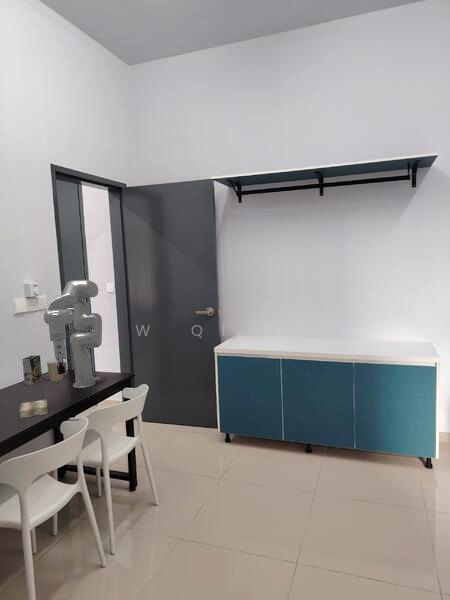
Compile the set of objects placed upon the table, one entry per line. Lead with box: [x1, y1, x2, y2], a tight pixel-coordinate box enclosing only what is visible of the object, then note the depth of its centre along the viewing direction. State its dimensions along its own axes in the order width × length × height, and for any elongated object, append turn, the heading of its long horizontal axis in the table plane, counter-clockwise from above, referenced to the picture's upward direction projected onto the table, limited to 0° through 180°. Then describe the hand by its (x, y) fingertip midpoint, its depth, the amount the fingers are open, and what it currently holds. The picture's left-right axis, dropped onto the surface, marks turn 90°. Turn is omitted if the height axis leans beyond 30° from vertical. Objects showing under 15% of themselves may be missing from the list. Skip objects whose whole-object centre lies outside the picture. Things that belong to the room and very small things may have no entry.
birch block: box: [19, 398, 49, 419], centre depth 210 cm, size 12×12×4 cm
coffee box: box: [21, 354, 43, 386], centre depth 259 cm, size 9×6×16 cm
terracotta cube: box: [55, 361, 68, 376], centre depth 213 cm, size 5×5×5 cm
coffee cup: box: [46, 358, 64, 382], centre depth 264 cm, size 9×9×12 cm
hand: (61, 372), depth 214 cm, fingers closed on terracotta cube, 5 cm apart
